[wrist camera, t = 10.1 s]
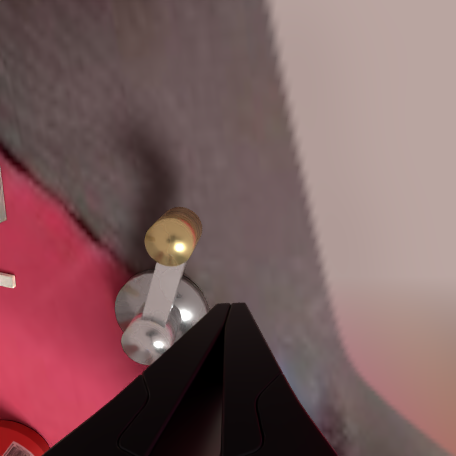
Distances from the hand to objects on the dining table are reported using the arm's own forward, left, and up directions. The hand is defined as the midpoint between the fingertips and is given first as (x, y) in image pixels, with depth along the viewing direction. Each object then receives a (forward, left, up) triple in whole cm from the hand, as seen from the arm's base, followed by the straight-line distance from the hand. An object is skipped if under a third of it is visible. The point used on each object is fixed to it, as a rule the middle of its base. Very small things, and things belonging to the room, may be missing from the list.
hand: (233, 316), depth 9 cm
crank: (+4, +5, -11) cm, 13 cm away
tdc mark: (+19, +9, -12) cm, 24 cm away
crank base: (+5, +9, -12) cm, 16 cm away
